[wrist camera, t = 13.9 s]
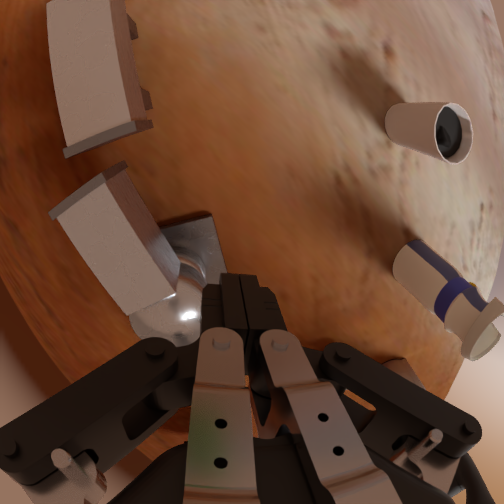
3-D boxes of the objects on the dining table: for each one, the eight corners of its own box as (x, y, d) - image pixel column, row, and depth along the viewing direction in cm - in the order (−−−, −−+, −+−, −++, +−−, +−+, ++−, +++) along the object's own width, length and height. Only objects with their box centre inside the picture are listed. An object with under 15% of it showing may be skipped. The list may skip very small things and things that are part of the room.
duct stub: (211, 213, 33) (212, 229, 29) (234, 297, 38) (238, 320, 34) (118, 238, 33) (106, 257, 28) (151, 314, 38) (146, 338, 34)
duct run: (89, 31, 21) (42, 4, 11) (139, 12, 21) (109, -30, 11) (111, 143, 28) (65, 158, 17) (162, 126, 28) (136, 130, 18)
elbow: (222, 304, 32) (225, 342, 27) (164, 329, 33) (159, 366, 28) (132, 155, 24) (110, 166, 18) (70, 197, 24) (41, 218, 19)
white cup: (416, 153, 33) (467, 170, 24) (378, 142, 32) (429, 156, 23) (423, 108, 30) (476, 114, 21) (385, 93, 29) (438, 93, 20)
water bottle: (433, 230, 39) (549, 323, 16) (428, 275, 42) (521, 373, 20) (393, 242, 38) (513, 357, 16) (390, 289, 42) (482, 405, 20)
